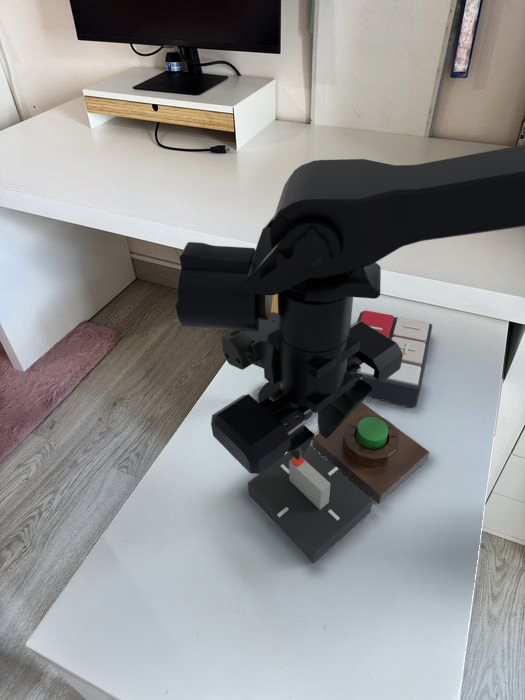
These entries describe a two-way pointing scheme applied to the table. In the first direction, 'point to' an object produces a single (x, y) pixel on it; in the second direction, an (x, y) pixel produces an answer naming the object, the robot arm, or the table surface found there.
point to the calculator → (414, 348)
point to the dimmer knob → (309, 482)
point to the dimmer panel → (310, 504)
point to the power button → (372, 433)
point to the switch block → (372, 455)
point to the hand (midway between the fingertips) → (310, 445)
